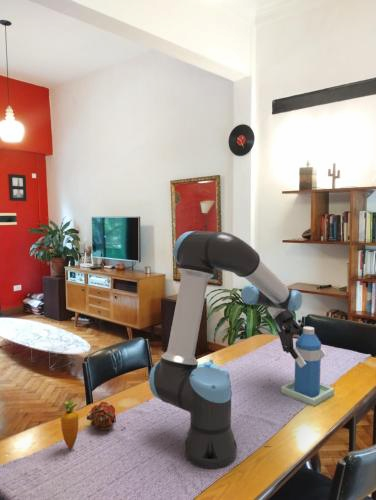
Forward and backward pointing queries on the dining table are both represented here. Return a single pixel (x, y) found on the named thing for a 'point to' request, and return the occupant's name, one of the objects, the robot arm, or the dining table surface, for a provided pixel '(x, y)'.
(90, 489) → the dining table surface
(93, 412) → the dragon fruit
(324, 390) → the tray
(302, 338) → the water bottle
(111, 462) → the dining table surface
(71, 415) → the carrot
